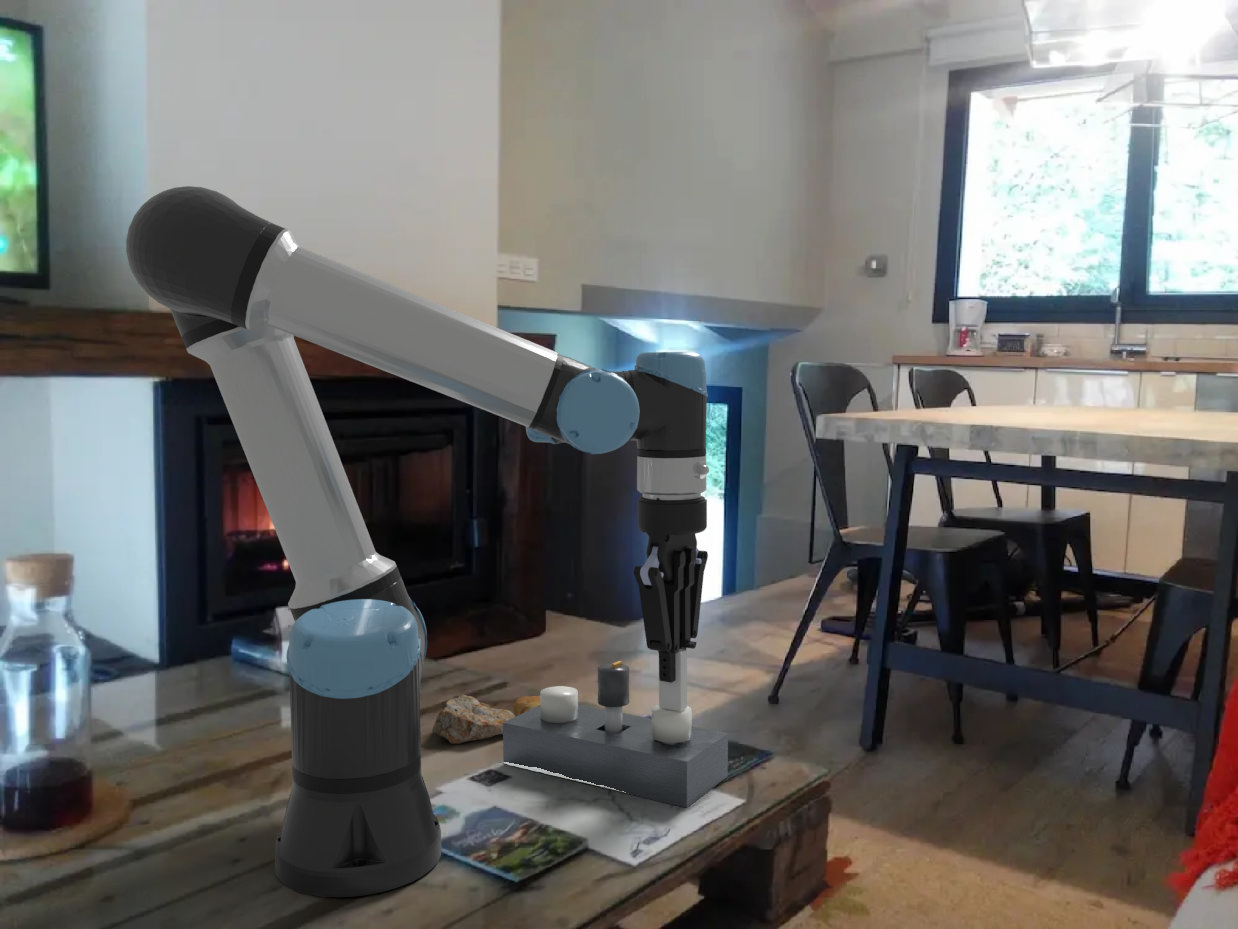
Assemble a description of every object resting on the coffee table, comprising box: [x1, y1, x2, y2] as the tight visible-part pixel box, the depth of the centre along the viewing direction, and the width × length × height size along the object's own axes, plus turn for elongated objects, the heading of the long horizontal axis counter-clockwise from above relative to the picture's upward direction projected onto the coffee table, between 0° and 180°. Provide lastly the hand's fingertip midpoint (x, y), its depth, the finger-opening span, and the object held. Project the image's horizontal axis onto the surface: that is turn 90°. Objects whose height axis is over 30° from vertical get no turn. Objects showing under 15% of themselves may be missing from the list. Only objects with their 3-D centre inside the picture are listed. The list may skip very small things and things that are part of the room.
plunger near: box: [651, 703, 693, 745], centre depth 116 cm, size 4×4×8 cm
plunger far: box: [539, 685, 579, 723], centre depth 124 cm, size 4×4×8 cm
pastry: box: [512, 695, 540, 716], centre depth 138 cm, size 9×7×4 cm
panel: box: [502, 704, 729, 809], centre depth 120 cm, size 24×10×5 cm, turn 59°
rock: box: [431, 693, 516, 745], centre depth 133 cm, size 9×6×10 cm
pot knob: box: [597, 660, 630, 734], centre depth 120 cm, size 4×4×9 cm
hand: (673, 707), depth 116 cm, fingers closed
